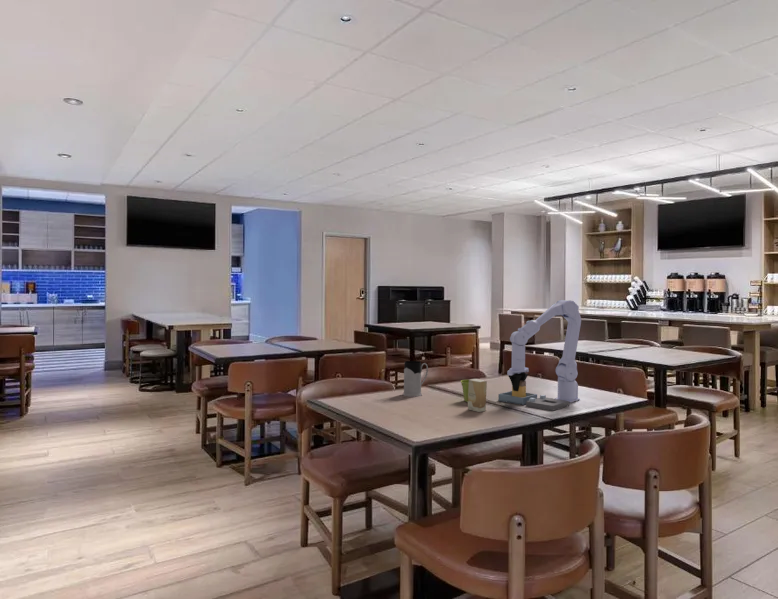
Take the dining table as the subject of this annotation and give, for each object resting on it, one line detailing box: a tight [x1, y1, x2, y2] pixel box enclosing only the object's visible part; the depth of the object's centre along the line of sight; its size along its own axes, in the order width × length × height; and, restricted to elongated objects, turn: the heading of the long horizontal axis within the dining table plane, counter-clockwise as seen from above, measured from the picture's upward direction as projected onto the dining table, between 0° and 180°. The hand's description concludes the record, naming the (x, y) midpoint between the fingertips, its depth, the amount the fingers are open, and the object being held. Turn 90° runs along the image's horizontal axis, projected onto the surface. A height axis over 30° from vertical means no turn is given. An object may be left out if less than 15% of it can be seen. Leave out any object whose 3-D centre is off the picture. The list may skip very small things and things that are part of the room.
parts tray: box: [497, 390, 538, 406], centre depth 238 cm, size 12×12×3 cm
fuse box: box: [525, 394, 570, 412], centre depth 228 cm, size 14×12×3 cm
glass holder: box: [402, 360, 429, 398], centre depth 252 cm, size 9×14×15 cm, turn 132°
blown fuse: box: [511, 380, 527, 398], centre depth 238 cm, size 3×5×7 cm, turn 46°
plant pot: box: [460, 379, 470, 403], centre depth 237 cm, size 9×9×9 cm
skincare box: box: [467, 378, 488, 413], centre depth 219 cm, size 6×4×12 cm
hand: (517, 390), depth 238 cm, fingers closed on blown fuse, 3 cm apart
